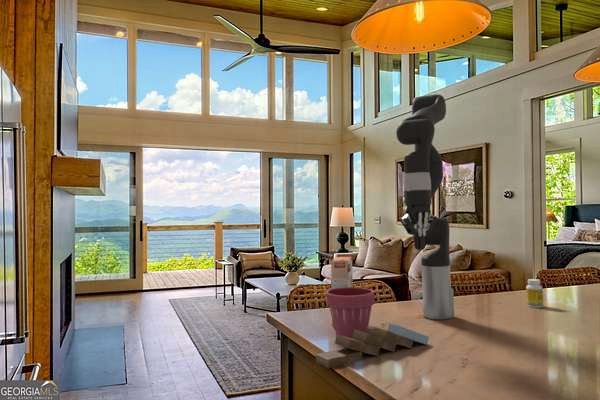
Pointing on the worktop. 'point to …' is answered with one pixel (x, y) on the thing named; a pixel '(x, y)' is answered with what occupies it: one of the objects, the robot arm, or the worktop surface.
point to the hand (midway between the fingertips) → (419, 249)
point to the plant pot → (350, 309)
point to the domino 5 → (408, 333)
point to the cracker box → (341, 273)
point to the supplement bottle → (534, 293)
